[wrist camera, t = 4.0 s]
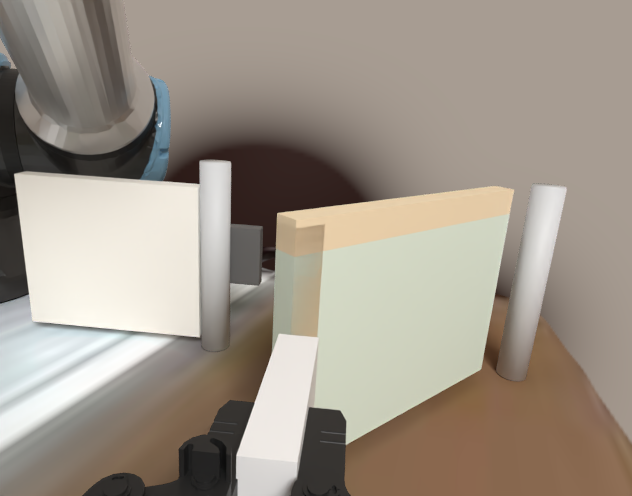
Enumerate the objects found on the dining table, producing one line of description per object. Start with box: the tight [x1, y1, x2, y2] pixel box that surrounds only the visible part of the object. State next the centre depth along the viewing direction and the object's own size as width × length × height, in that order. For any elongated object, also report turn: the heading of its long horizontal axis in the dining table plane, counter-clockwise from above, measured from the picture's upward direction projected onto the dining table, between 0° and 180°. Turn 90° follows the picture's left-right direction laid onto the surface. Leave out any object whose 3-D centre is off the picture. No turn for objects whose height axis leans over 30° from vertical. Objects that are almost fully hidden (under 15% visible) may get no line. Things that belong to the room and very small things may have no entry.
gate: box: [272, 186, 514, 444], centre depth 31 cm, size 20×2×15 cm, turn 130°
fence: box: [14, 160, 567, 381], centre depth 40 cm, size 3×43×16 cm, turn 85°
